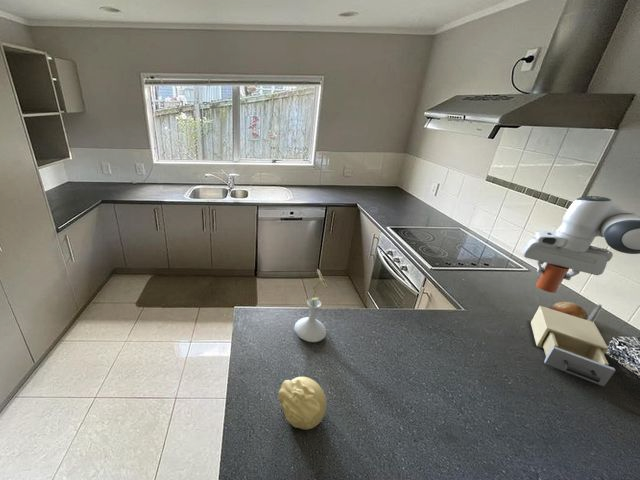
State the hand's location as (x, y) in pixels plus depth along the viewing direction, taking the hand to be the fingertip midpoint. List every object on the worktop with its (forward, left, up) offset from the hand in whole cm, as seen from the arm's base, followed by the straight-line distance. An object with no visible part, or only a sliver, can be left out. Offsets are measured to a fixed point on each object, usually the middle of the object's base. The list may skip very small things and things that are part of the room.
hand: (552, 275), depth 102 cm
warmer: (-9, +4, -24) cm, 26 cm away
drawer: (-9, +17, -23) cm, 29 cm away
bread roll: (-15, -19, -24) cm, 34 cm away
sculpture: (+54, +87, -24) cm, 105 cm away
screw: (-18, -11, -24) cm, 32 cm away
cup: (0, 0, -6) cm, 6 cm away
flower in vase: (+66, +58, -24) cm, 91 cm away
